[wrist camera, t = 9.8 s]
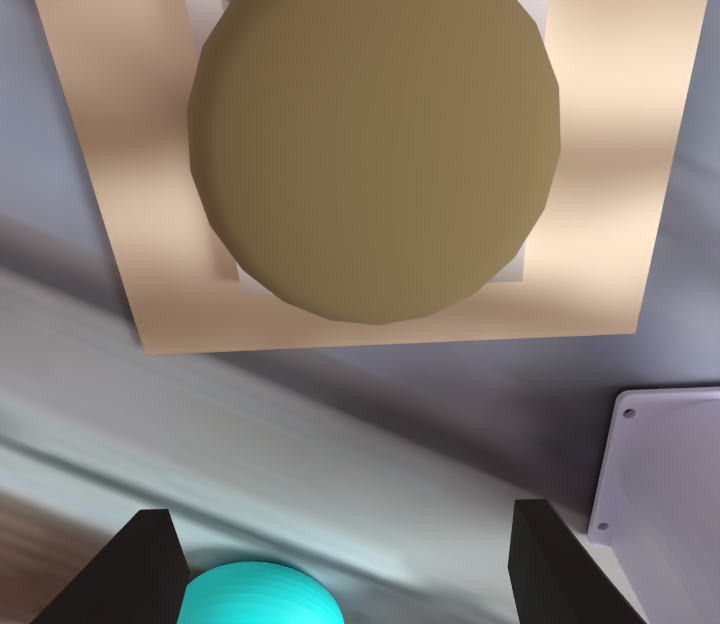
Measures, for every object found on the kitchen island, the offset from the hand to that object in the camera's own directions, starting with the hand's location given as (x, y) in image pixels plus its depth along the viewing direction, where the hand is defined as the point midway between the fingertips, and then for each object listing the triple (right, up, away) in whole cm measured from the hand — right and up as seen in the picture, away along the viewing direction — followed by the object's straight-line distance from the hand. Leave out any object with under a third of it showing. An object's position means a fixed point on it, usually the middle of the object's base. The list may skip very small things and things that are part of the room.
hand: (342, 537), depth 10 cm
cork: (+1, +11, +6) cm, 13 cm away
